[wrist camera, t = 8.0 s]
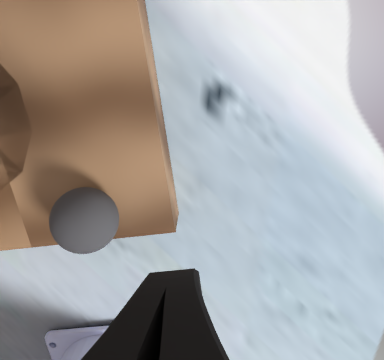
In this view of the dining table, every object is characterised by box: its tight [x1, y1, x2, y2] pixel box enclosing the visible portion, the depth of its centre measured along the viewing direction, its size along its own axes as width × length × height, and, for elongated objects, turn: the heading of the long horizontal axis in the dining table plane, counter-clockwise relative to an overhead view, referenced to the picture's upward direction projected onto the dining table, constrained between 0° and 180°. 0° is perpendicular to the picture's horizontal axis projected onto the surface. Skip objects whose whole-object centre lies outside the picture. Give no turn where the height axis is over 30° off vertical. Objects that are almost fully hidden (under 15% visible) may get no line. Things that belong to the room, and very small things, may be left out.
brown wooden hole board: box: [0, 0, 179, 251], centre depth 16 cm, size 13×16×2 cm
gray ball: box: [49, 187, 119, 254], centre depth 15 cm, size 3×3×3 cm
